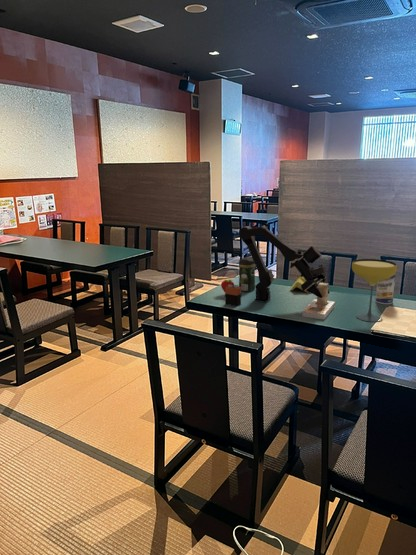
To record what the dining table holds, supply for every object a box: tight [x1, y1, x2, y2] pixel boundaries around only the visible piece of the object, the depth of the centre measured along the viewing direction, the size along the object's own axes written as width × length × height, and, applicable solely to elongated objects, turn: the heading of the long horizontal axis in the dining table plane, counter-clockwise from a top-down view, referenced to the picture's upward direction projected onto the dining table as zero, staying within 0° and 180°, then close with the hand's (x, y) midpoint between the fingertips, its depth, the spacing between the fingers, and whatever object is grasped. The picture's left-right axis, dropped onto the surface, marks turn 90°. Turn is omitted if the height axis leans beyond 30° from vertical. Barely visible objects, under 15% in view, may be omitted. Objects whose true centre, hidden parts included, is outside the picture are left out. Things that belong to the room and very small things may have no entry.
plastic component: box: [289, 275, 310, 294], centre depth 230 cm, size 20×7×10 cm
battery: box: [224, 284, 242, 307], centre depth 200 cm, size 4×7×10 cm, turn 59°
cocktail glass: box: [351, 258, 398, 323], centre depth 178 cm, size 18×18×25 cm
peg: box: [316, 282, 330, 306], centre depth 193 cm, size 4×4×12 cm
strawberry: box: [220, 278, 235, 293], centre depth 216 cm, size 6×8×10 cm
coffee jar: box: [238, 256, 256, 293], centre depth 225 cm, size 10×8×19 cm
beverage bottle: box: [374, 274, 396, 305], centre depth 201 cm, size 8×8×20 cm
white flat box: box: [301, 298, 336, 321], centre depth 190 cm, size 10×21×3 cm, turn 151°
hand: (325, 295), depth 192 cm, fingers open, 8 cm apart
